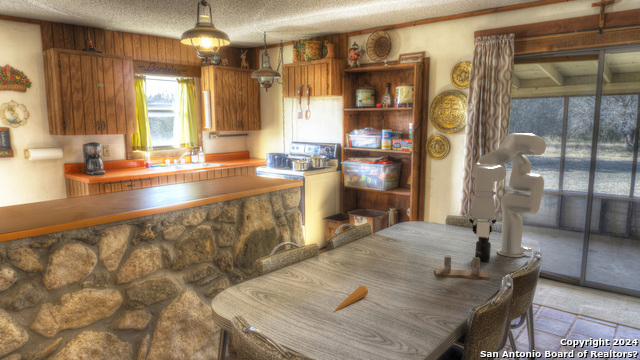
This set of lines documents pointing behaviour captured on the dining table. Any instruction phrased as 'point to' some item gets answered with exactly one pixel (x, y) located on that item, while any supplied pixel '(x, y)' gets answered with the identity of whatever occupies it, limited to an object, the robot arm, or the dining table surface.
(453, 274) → the post strip
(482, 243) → the supplement bottle
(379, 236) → the dining table surface
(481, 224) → the cream rectangular block
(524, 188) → the robot arm
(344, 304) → the carrot
